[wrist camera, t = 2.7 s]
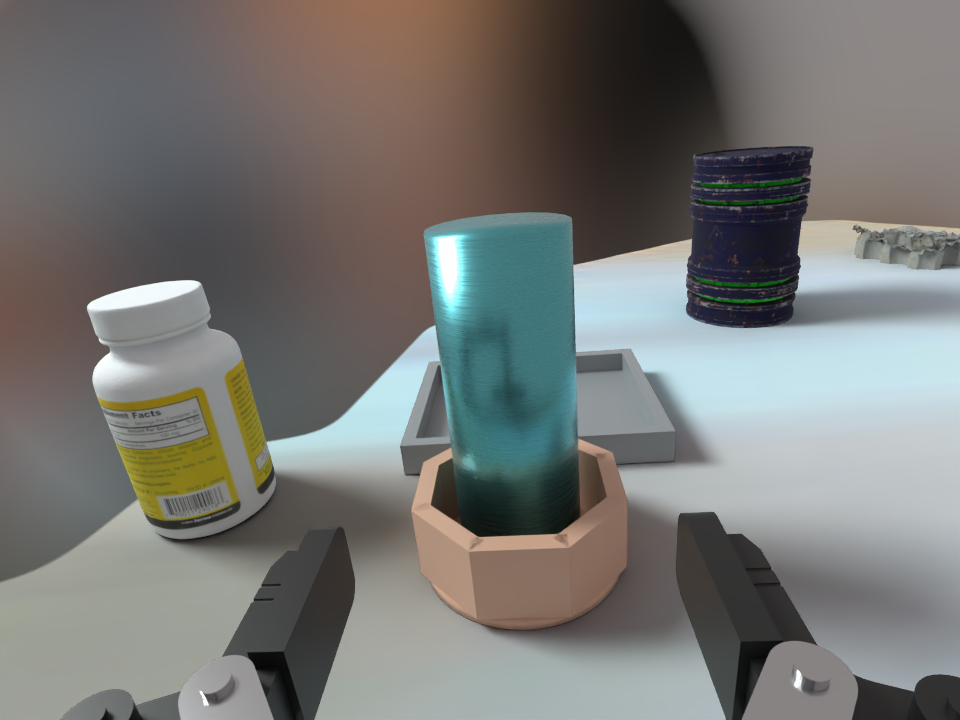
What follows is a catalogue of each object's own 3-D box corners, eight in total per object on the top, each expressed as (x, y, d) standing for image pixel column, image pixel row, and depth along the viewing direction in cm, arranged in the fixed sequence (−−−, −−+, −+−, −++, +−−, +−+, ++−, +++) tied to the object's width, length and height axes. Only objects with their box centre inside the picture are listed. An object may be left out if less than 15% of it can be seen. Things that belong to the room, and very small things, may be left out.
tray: (404, 474, 34) (400, 446, 34) (432, 384, 46) (429, 362, 46) (674, 461, 33) (675, 431, 32) (630, 372, 45) (630, 348, 44)
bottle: (459, 587, 25) (412, 245, 19) (467, 507, 30) (433, 219, 24) (588, 583, 24) (579, 231, 19) (574, 502, 29) (564, 208, 24)
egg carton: (842, 257, 72) (847, 224, 71) (892, 249, 73) (897, 217, 72) (921, 274, 62) (929, 237, 61) (976, 265, 64) (985, 228, 62)
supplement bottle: (232, 459, 38) (175, 272, 33) (302, 486, 34) (251, 279, 29) (124, 521, 32) (38, 307, 28) (194, 561, 29) (108, 321, 24)
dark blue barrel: (805, 303, 56) (826, 143, 51) (780, 334, 49) (801, 153, 44) (703, 293, 62) (712, 150, 57) (669, 319, 56) (675, 159, 50)
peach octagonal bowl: (411, 633, 23) (396, 556, 22) (437, 495, 32) (429, 433, 30) (643, 626, 23) (644, 546, 21) (606, 487, 31) (605, 424, 30)
